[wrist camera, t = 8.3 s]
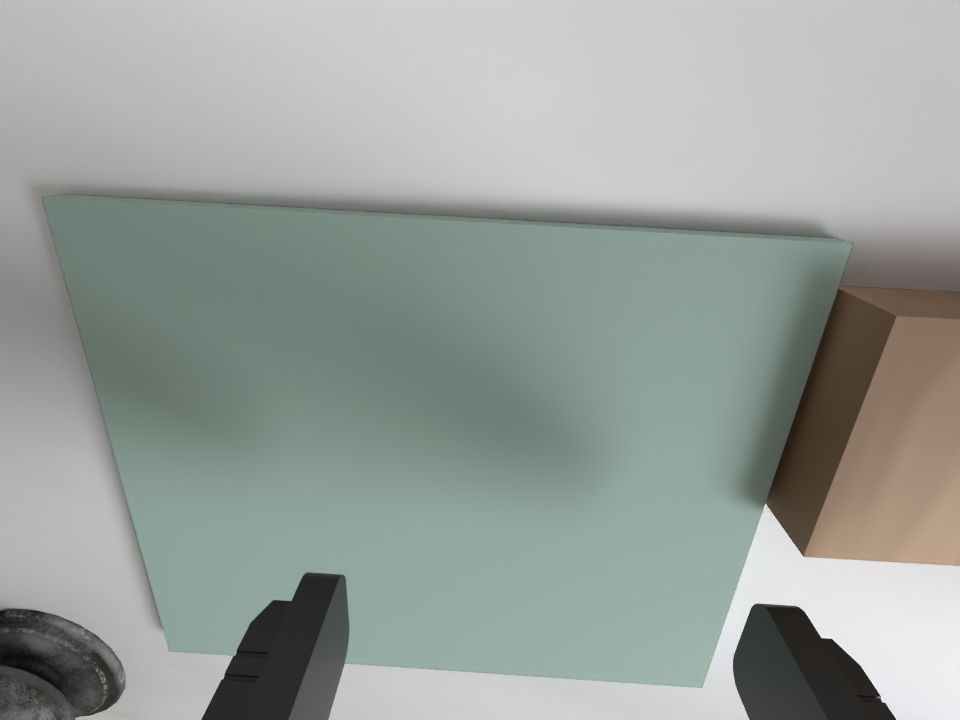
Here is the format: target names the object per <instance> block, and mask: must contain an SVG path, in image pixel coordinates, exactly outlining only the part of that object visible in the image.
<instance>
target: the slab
mask: <svg viewBox="0 0 960 720" xmlns="http://www.w3.org/2000/svg"><path fill="white" fill-rule="evenodd" d="M765 503H766V504H767V506H768V507H769V509H770V510H771V511H772V513H773V514H774V516H775V517H776V519H777V520H778V521H779V523H780V524H781V526H782V527H783V528H784V530H785V531H786V533H787V534H788V535H789V537H790V538H791V540H792V541H793V543H794V544H795V545H796V547H797V548H798V550H799V551H800V552H801V554H802V555H803V557H818V558H835V559H852V560H869V561H886V562H903V563H920V564H937V565H954V566H960V292H947V291H928V290H909V289H889V288H870V287H850V286H839V288H838V291H837V294H836V297H835V300H834V303H833V305H832V308H831V311H830V314H829V317H828V320H827V323H826V326H825V329H824V332H823V335H822V338H821V341H820V344H819V347H818V349H817V352H816V355H815V358H814V361H813V364H812V367H811V370H810V373H809V376H808V379H807V382H806V385H805V388H804V391H803V394H802V396H801V399H800V402H799V405H798V408H797V411H796V414H795V417H794V420H793V423H792V426H791V429H790V432H789V435H788V438H787V440H786V443H785V446H784V449H783V452H782V455H781V458H780V461H779V464H778V467H777V470H776V473H775V476H774V479H773V482H772V484H771V487H770V490H769V493H768V496H767V499H766V502H765Z"/></svg>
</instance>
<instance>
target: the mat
mask: <svg viewBox="0 0 960 720" xmlns="http://www.w3.org/2000/svg"><path fill="white" fill-rule="evenodd" d="M41 198H42V201H43V205H44V208H45V212H46V216H47V219H48V223H49V226H50V230H51V233H52V237H53V240H54V244H55V247H56V251H57V255H58V258H59V262H60V265H61V269H62V272H63V276H64V279H65V283H66V286H67V290H68V294H69V297H70V301H71V304H72V308H73V311H74V315H75V318H76V322H77V326H78V329H79V333H80V336H81V340H82V343H83V347H84V350H85V354H86V357H87V361H88V365H89V368H90V372H91V375H92V379H93V382H94V386H95V389H96V393H97V396H98V400H99V404H100V407H101V411H102V414H103V418H104V421H105V425H106V428H107V432H108V436H109V439H110V443H111V446H112V450H113V453H114V457H115V460H116V464H117V467H118V471H119V475H120V478H121V482H122V485H123V489H124V492H125V496H126V499H127V503H128V506H129V510H130V514H131V517H132V521H133V524H134V528H135V531H136V535H137V538H138V542H139V546H140V549H141V553H142V556H143V560H144V563H145V567H146V570H147V574H148V577H149V581H150V585H151V588H152V592H153V595H154V599H155V602H156V606H157V609H158V613H159V616H160V620H161V624H162V627H163V631H164V634H165V638H166V641H167V645H168V648H169V651H171V652H186V653H200V654H215V655H229V656H235V655H236V652H237V648H238V647H239V645H240V643H241V641H242V639H243V637H244V635H245V633H246V631H247V629H248V627H249V625H250V623H251V622H252V621H253V620H254V619H255V618H256V617H257V616H258V615H259V614H260V613H261V612H262V611H263V610H264V609H265V608H266V607H267V606H268V605H269V604H270V603H271V602H272V601H273V600H283V601H292V599H293V596H294V594H295V592H296V590H297V587H298V585H299V583H300V581H301V579H302V577H303V575H304V574H305V573H306V572H312V573H327V574H342V575H345V578H346V587H347V600H348V614H349V643H348V650H347V655H346V659H345V663H346V664H360V665H375V666H389V667H404V668H418V669H433V670H447V671H462V672H477V673H491V674H506V675H520V676H535V677H549V678H564V679H578V680H593V681H608V682H622V683H637V684H651V685H666V686H680V687H695V688H702V687H703V684H704V681H705V678H706V675H707V672H708V669H709V666H710V663H711V661H712V658H713V655H714V652H715V649H716V646H717V643H718V640H719V637H720V634H721V631H722V628H723V625H724V622H725V619H726V617H727V614H728V611H729V608H730V605H731V602H732V599H733V596H734V593H735V590H736V587H737V584H738V581H739V578H740V575H741V573H742V570H743V567H744V564H745V561H746V558H747V555H748V552H749V549H750V546H751V543H752V540H753V537H754V534H755V531H756V529H757V526H758V523H759V520H760V517H761V514H762V511H763V508H764V505H765V502H766V499H767V496H768V493H769V490H770V487H771V484H772V482H773V479H774V476H775V473H776V470H777V467H778V464H779V461H780V458H781V455H782V452H783V449H784V446H785V443H786V440H787V438H788V435H789V432H790V429H791V426H792V423H793V420H794V417H795V414H796V411H797V408H798V405H799V402H800V399H801V396H802V394H803V391H804V388H805V385H806V382H807V379H808V376H809V373H810V370H811V367H812V364H813V361H814V358H815V355H816V352H817V349H818V347H819V344H820V341H821V338H822V335H823V332H824V329H825V326H826V323H827V320H828V317H829V314H830V311H831V308H832V305H833V303H834V300H835V297H836V294H837V291H838V288H839V285H840V282H841V279H842V276H843V273H844V270H845V267H846V264H847V261H848V259H849V256H850V253H851V250H852V247H853V244H852V243H849V242H846V241H843V240H840V239H837V238H824V237H806V236H789V235H771V234H753V233H736V232H718V231H701V230H683V229H666V228H648V227H631V226H613V225H596V224H578V223H561V222H543V221H526V220H508V219H491V218H473V217H455V216H438V215H420V214H403V213H385V212H368V211H350V210H333V209H315V208H298V207H280V206H263V205H245V204H228V203H210V202H193V201H175V200H158V199H140V198H122V197H105V196H87V195H70V194H61V195H54V196H48V197H41Z"/></svg>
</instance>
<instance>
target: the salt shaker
mask: <svg viewBox="0 0 960 720" xmlns="http://www.w3.org/2000/svg"><path fill="white" fill-rule="evenodd" d="M124 689H125V673H124V670H123V667H122V664H121V662H120V661H119V659H118V658H117V657H116V655H115V654H114V652H113V651H112V649H111V648H109V647H108V646H107V645H106V644H105V643H104V642H103V641H102V640H101V639H99V638H98V637H97V636H96V635H94V634H92V633H91V632H89V631H88V630H86V629H84V628H83V627H81V626H80V625H77V624H75V623H73V622H70V621H68V620H65V619H63V618H61V617H58V616H54V615H50V614H46V613H42V612H38V611H28V610H10V611H2V612H0V720H75V717H80V716H89V715H93V714H95V713H98V712H101V711H104V710H107V709H108V708H109V707H111V706H112V705H113V704H115V703H116V702H117V701H118V699H119V697H120V696H121V694H122V692H123V690H124Z"/></svg>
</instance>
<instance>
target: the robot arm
mask: <svg viewBox="0 0 960 720" xmlns="http://www.w3.org/2000/svg"><path fill="white" fill-rule="evenodd" d="M348 643H349V614H348V600H347V587H346V578H345V575H342V574H327V573H312V572H306V573H305V574H304V575H303V577H302V579H301V581H300V583H299V585H298V587H297V590H296V592H295V594H294V596H293V599H292V601H283V600H273V601H272V602H271V603H270V604H269V605H268V606H267V607H266V608H265V609H264V610H263V611H262V612H261V613H260V614H259V615H258V616H257V617H256V618H255V619H254V620H253V621H252V622H251V623H250V625H249V627H248V629H247V631H246V633H245V635H244V637H243V639H242V641H241V643H240V645H239V647H238V648H237V652H236V655H235V656H233V658H232V660H231V662H230V664H229V666H228V668H227V670H226V672H225V677H224V679H223V680H221V682H220V684H219V686H218V688H217V690H216V692H215V694H214V696H213V698H212V700H211V702H210V704H209V706H208V708H207V710H206V712H205V714H204V716H203V718H202V720H328V718H329V715H330V711H331V708H332V704H333V701H334V698H335V694H336V691H337V687H338V684H339V681H340V677H341V674H342V670H343V667H344V663H345V659H346V655H347V650H348ZM733 672H734V679H735V684H736V687H737V690H738V693H739V695H740V698H741V700H742V703H743V705H744V707H745V710H746V712H747V714H748V717H749V719H750V720H896V719H895V717H894V716H893V714H892V713H891V711H890V710H889V708H888V707H887V705H886V704H885V703H882V701H881V696H880V695H879V693H878V692H877V690H876V689H875V687H874V686H873V684H872V683H871V681H870V680H869V678H868V677H867V675H866V674H865V672H864V671H863V669H862V668H861V666H860V665H859V664H858V663H857V662H856V661H855V660H854V659H853V658H851V657H850V656H849V655H848V654H847V653H846V652H845V651H844V650H843V649H842V648H841V647H840V646H839V645H838V644H837V643H835V642H834V641H833V640H832V639H824V638H821V637H820V635H819V634H818V632H817V631H816V629H815V627H814V626H813V624H812V623H811V621H810V619H809V618H808V616H807V615H806V613H805V612H804V611H803V610H802V609H800V608H799V607H797V606H786V605H771V604H755V605H753V607H752V608H751V610H750V613H749V616H748V618H747V621H746V624H745V627H744V629H743V632H742V635H741V638H740V640H739V643H738V646H737V649H736V651H735V654H734V659H733Z"/></svg>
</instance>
